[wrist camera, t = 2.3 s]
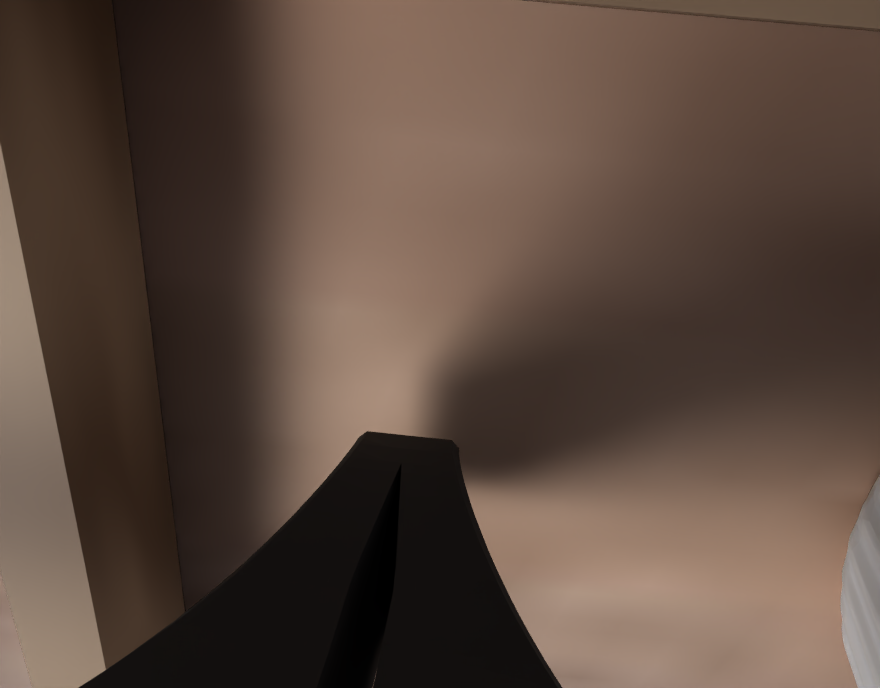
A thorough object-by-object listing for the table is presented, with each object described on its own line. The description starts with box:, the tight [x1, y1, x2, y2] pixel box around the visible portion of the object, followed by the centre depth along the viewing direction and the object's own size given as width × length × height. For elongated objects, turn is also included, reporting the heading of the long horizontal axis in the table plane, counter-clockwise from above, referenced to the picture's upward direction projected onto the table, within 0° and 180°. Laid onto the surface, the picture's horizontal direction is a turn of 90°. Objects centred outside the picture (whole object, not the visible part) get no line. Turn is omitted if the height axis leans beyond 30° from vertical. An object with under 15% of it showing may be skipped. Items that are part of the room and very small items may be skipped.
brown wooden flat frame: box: [0, 0, 880, 688], centre depth 10 cm, size 15×23×2 cm, turn 85°
